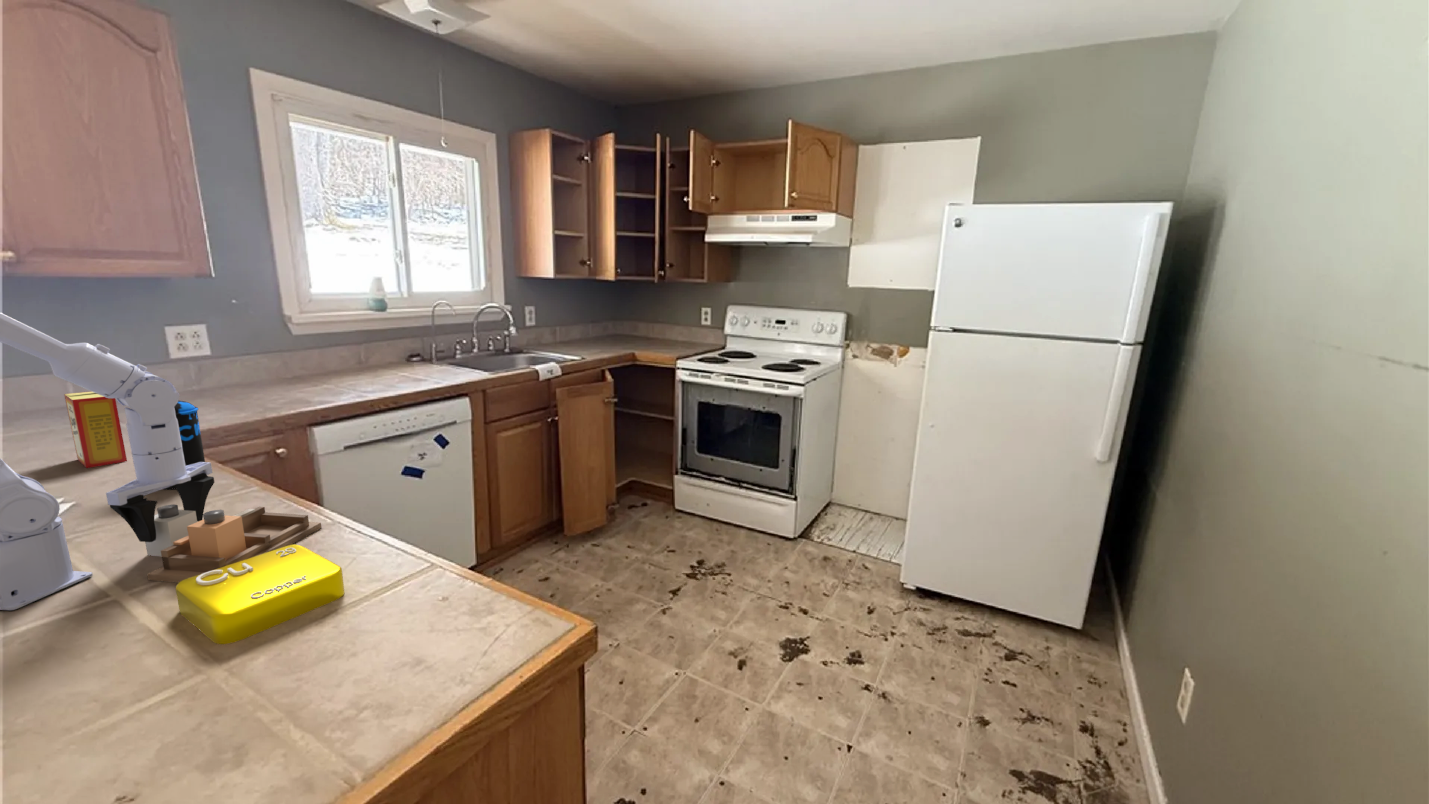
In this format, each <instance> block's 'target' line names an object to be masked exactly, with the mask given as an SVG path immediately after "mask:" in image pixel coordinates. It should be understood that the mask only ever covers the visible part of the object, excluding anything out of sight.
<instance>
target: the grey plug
mask: <svg viewBox="0 0 1429 804" xmlns="http://www.w3.org/2000/svg"><path fill="white" fill-rule="evenodd" d="M156 511H157V514H155V515H154V523H155V529H156V540H155V541H153V542H144V544H145V548H146V549H145V550H146V554H147V556H150V555H151V556H150V557H152V556H153V557H162V556H161V550H163V549H166V548H168V547H170V546H172V545H174V544H173V542H175V541H177V540H179V539H181V538H184V537H186V536H188V530H187V526H189V525H192V524H194V523H196V522H197V517H196V511H189V510H184V509H179V506H178V504H166V505H162V506H160V507H158V508H156Z"/></svg>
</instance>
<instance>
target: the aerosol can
mask: <svg viewBox="0 0 1429 804" xmlns="http://www.w3.org/2000/svg"><path fill="white" fill-rule="evenodd" d="M174 408H175V414H176V418H177V420H178V426H179V431H180V437H181V443H182V449H183V455H184V460H185V466H187V465H191V464H195V463H198V462H206V459H205V453H204V452H205V451H204V446H203V440H202V434H201V426H200V422H199V420H200V419H199V415H198V411H199V408H198V407H197V406H195V405H194V404H192V403H190V402H188V401H185V400H178V402H177V404H176V405H175V406H174ZM206 476H208V475H206ZM166 489H167V491H168V490H169V489H171V490H177V489H176V487H175V486H174V485H173V486H170V487H167V488H164V489H163V490H166Z"/></svg>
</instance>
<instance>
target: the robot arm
mask: <svg viewBox="0 0 1429 804" xmlns="http://www.w3.org/2000/svg"><path fill="white" fill-rule="evenodd" d="M0 343H2V344H4V345H7V346H9V347H12V348H14V349H16V350H19V351H21V352H23V353H26V354H28V355H31V356H34V357H36V358H38V359H40V360H44V361H46V362H47V363H48V364H49V365H50V368H51V372H52V374H53V376H54V377H56V378H59V379H61V380H63V381H66V382H69V383H70V384H73V385H75V386H78V387H80V388H82V389H85V390H87V391H88V392H91V391H92V392H94V393H97V394H99V395H101V396H104V397H106V398H115V399H116V402H118V404H120V405H121V406H126V407H124V409H123V410H124V414H125V418H126V425H125V426H126V429H127V435H128V436H127V437H128V440H129V445H130V446H129V447H130V450H131V452H130V453H131V457H132V462H133V467H134V472H135V477H136V479H133V480H131V481H129V482H127V483H125V484H123V485H121V486H120V487H117V488H115V489H113V490H110V491H107V492H105V495H106V500H107V505H108V506H109V507H110V509H112V510H113V511H114V512H115V513H116V514H118V515H119V516H121V518H122V519H124V521H125V522H126V523H127V524H128V525H129V527H130V528H131V530H132V531H133V532H134V534H135V536H136V537H137V539H138V541H139V542H143V543H145V542H153V541H155V540H156V529H155V523H154V515H156V514H155V513H156V509H157V508H156V507H157V504H158V501H157V500H149V499H148V498H147V497H144V496H147V495H150V494H153V493H155V492H159V491H161V490H165V489H164V488H167V487H170V486H173V485H174V486H175V487H176V489H175V490H176V491H177V492H178V495H179V498H180V501H181V502H182V507H183V510H189V511H196V517H197V522H199V521H201V520H203V519H204V517H203V514H204V513H205V506H206V502H207V498H208V495H209V494H210V490H211V488H212V487H213V486H214V483H215V478H214V476H209V475H211V474H213V473H214V472H213V466H212V462H210V461H209V462H208V461H207V462H206V461H205V462H198V463H195V464H191V465H187V466H185V460H184V455H183V449H182V443H181V437H180V431H179V426H178V420H177V418H176V414H175V408H174V406H175V405H176V404H177V402H178V400H179V399H180V392H179V391H177V388H176V387H175V386H174V384H173V383H172V382H171V381H169V380H168V379H166V378H163V377H161V376H158V375H156V374H155V375H154V373H152V372H151V371H147V370H148V367H147V366H144V365H143V364H141V363H138V364H136V365H135V364H134V363H131V362H128V361H127V360H124V359H122V358H120V357H118V356H115V355H114V354H111V353H110V351H111V349H110V347H107V346H105V345H102V344H100V343H97V344H95V345H92V344H90V343H88V342H76V343H64V342H62V341H60V340H59V339H56V338H54V337H52V336H50V335H48V334H46V333H44V332H42V331H40V330H37V329H36V328H34V327H32V326H29V325H27V324H26V323H23V322H21V321H18V320H17V319H14V318H12V317H11V316H9V315H6V314H4V313H3V312H0ZM179 401H180V400H179ZM206 475H207V476H206ZM60 510H61V508H60V502H59V501H58V500H57V498H56V497H55V496H54V495H52V494H51V493H50V492H47V490H46V489H45V488H44V486H43V485H42V484H41V483H40V482H39V481H37V479H34V478H32V477H28V476H24V475H21V474H19V473H17V472H16V471H14V469H13V468H12V467H11V466H9V464H7V463H6V462H5V461H4V460H3V459H2V458H1V457H0V611H1V610H2V611H15V610H18V609H20V608H22V607H24V606H26V605H28V604H32V603H33V602H35V601H38V600H41V599H43V598H45V597H48V596H49V595H51V594H54V593H56V592H59V591H60V590H63V589H65V588H68V587H70V586H72V585H74V584H77V583H78V582H82V581H83V580H86V579H88V578H90V577H92V576H93V572H90V571H79V570H73V565H72V560H71V555H70V550H69V547H68V541H67V538H66V532H65V527H64V522H63V519H62V517H60V516H59V514H60Z"/></svg>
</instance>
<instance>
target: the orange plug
mask: <svg viewBox="0 0 1429 804" xmlns="http://www.w3.org/2000/svg"><path fill="white" fill-rule="evenodd" d="M187 530H188V536H189V542H190V548H191V554H192V556H205V557H219V558H225V561H226V560H227V559H229V558H231V557H233V556H235V555H237V554H239V553H241V552H243V551H245V550H246V543H245V536H244V530H243V523H242V516H233V515H226V514H225V511H224V510H223V509H214V510H209V511H206V512H203V518H202V520H201V521H199V522H196V523H194V524H192V525H189V526H187Z"/></svg>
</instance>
